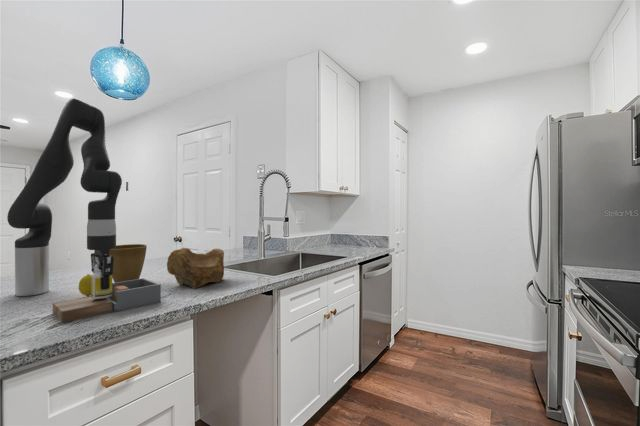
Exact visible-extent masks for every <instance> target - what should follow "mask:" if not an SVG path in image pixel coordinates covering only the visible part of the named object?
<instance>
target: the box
mask: <svg viewBox="0 0 640 426" xmlns="http://www.w3.org/2000/svg"><path fill="white" fill-rule="evenodd" d="M117 286H126V287H128V288H129V289H128V290H122V291H116V297H117V303H116V302H115V287H117ZM161 289H162V285H161V284H160V283H158V282H155V281H153V280H150V279H147V278H139V279H136V280H129V281H123V282H117V283H115V282H112V296H110V297H107V299H108V300H110V301H112V302H113V312H114V313H116V312H121V311H126V310H131V309H134V308H140V307H144V306H148V305H153V304H154V305H155V304H158V303H161V299H162V295H161V294H162V290H161Z"/></svg>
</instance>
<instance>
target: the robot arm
mask: <svg viewBox="0 0 640 426" xmlns="http://www.w3.org/2000/svg"><path fill="white" fill-rule="evenodd" d="M73 127H74V128H76V129H80V130H82V131H85V132H88V133H89V134H90V136H89V137H88V138H87V139H86V140H85V141H83V143H82V144H81V148H80V154H81V158H82V162H83V170H82V173H81V175H80V176H81V177H80V186H81V188H82V189H83V190H84V191H86V192H87V193H99V194H100V193H101V194H102V193H103V194H106V196H105V197H104V198H101V199H95V200H91V201H89V202H88V204H87V223H86V249H87V250H89V251H94V252H91V253H90V263H91V272H92V274H93V273H95V271H94V266H97V269H98V271H100V277H101V278H100V288H101V289H102V290H104V289H109V287H110V276H111V275H113V261H114V257H113V256H112V257H111V255H110V253H109V250H110V249H114V248H116V245H117V224H116V205H117V200H118V197H119V193H120V190H121V187H122V183H123V180H122V176H121V174H120V173H119V172H117V171H113V170H109V169H110V168H111V160H110V157H109V154H108V151H107V146H106V119H105V115H104V113H103V111H102V110H101V109H99V108H97V107H96V106H93V105H90V104H88V103H87V102H84V101H82V100H80V99H77V98H70V99H69V100H67V102H66V103H65V105H64V106H63V108H62V110H61V112H60V115H59V116H58V119H57V122H56V125H55V127H54V131H53V132H52V135H51V137H50V138H49V140H48V142H47V144H46V145H45V148H44V150H43V151H42V153H41V154H40V157H39V158H38V161H37V163H36V164H35V167H34V168H33V171H32V173H31V174H30V176H29V178H28V180H27V182H26V184H25V185H24V187H23V188H22V190H21V192H20V193H19V194H18V195H17V197H16V199H15V200H14V201H13V203H12V204H11V206H10V208H9V210H8V213H7V218H6V219H7V223H8V225H9V226H10V227H12V228H14V229H19V230H21V229H23V230H26V229H28V231H27V233H26V234H25V235H23V236H22V237H19V238H17V239H15V240H14V295H15V297H28V296H29V297H30V296H36V295H41V294H46V293H48V292H50V248H49V247H50V246H49V245H50V244H49V243H50V240H51V237H52V228H53V214H52V209H51V207H50V206H48V204H44V203H40V202H41V200H42V199H43V198H44V197H45V196H46V195H48V194H49V193H50V192H52V191H53V190H55V189H56V188H58V187H59V186H61V184H62V183H64V182H65V181H66V179H68V176H69V175H70V173H71V171H72V169H73V167H74V165H75V164H74V163H75V162H74V161H75V160H74V155H73V151H72V148H71V143H70V133H71V130H72V128H73ZM105 270H107V272H105Z"/></svg>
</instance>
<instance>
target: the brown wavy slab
mask: <svg viewBox="0 0 640 426" xmlns="http://www.w3.org/2000/svg"><path fill="white" fill-rule="evenodd" d="M112 312H113V302H112V301H110V300H108V299H107V298H102V299H93V298H92V297H91V295H90V296H89V297H87V296H85V297H80V298H75V299H68V300H63V301H57V302H53V303H52V314H53V315H54V316H55V317H56V318H57V319H58V320H59V321H60V322H61V323H67V322H71V321H76V320H80V319H85V318H89V317H95V316H98V315H104V314H107V313H112Z"/></svg>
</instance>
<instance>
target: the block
mask: <svg viewBox="0 0 640 426" xmlns="http://www.w3.org/2000/svg"><path fill="white" fill-rule="evenodd" d="M128 289H129V288H128V287H126V286H117V287H115V302H116V303H117V297H116V291H122V290H128Z"/></svg>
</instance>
